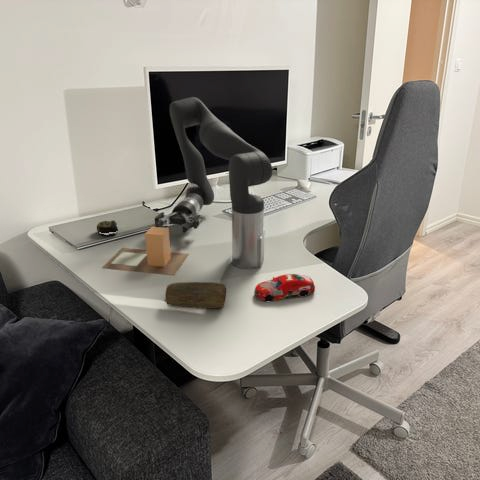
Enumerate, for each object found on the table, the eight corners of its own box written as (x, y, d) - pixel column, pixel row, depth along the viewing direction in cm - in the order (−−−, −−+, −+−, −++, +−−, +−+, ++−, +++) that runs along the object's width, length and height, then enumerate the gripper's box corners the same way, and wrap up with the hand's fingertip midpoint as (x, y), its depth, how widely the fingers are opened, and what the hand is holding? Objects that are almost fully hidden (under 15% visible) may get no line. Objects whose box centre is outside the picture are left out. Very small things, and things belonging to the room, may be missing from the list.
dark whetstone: (226, 298, 120) (226, 276, 117) (225, 313, 113) (225, 290, 111) (169, 298, 120) (167, 275, 117) (165, 313, 114) (163, 289, 111)
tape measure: (118, 236, 157) (117, 226, 155) (97, 238, 155) (96, 228, 153) (117, 228, 163) (116, 219, 161) (97, 231, 161) (95, 221, 159)
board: (189, 258, 141) (188, 232, 138) (174, 280, 129) (172, 252, 125) (122, 251, 145) (119, 227, 142) (102, 272, 133) (98, 245, 129)
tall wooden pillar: (170, 258, 137) (168, 228, 133) (164, 266, 133) (162, 235, 129) (154, 257, 138) (151, 226, 134) (147, 265, 134) (144, 233, 129)
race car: (257, 304, 117) (258, 288, 115) (251, 291, 123) (251, 275, 121) (317, 297, 121) (318, 280, 119) (308, 284, 127) (309, 268, 125)
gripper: (165, 199, 157) (148, 216, 142) (206, 202, 154) (191, 219, 140) (167, 219, 160) (149, 238, 146) (206, 222, 157) (193, 241, 143)
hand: (170, 229), depth 143 cm, fingers open, 8 cm apart
